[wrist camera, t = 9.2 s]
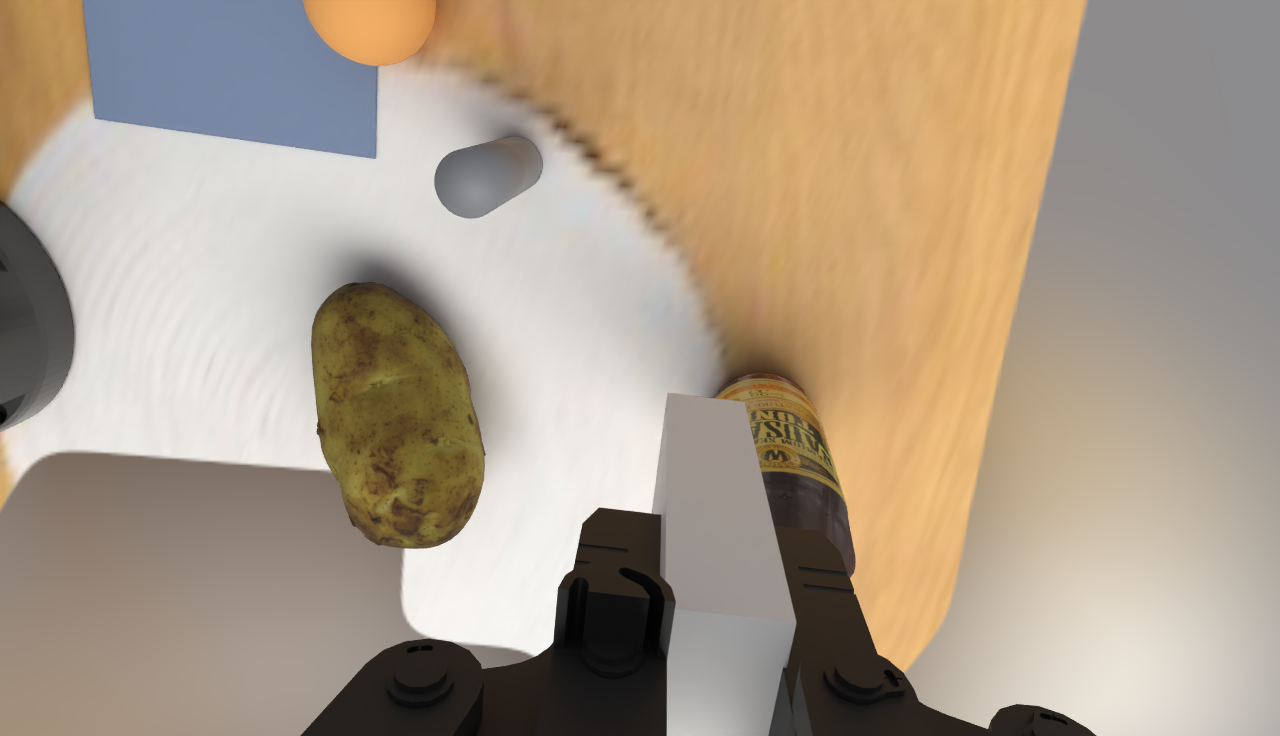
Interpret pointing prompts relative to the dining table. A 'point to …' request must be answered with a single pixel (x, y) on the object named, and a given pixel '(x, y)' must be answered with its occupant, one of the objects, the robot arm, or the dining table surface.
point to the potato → (395, 417)
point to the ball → (373, 27)
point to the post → (487, 175)
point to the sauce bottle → (794, 458)
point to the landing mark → (229, 73)
